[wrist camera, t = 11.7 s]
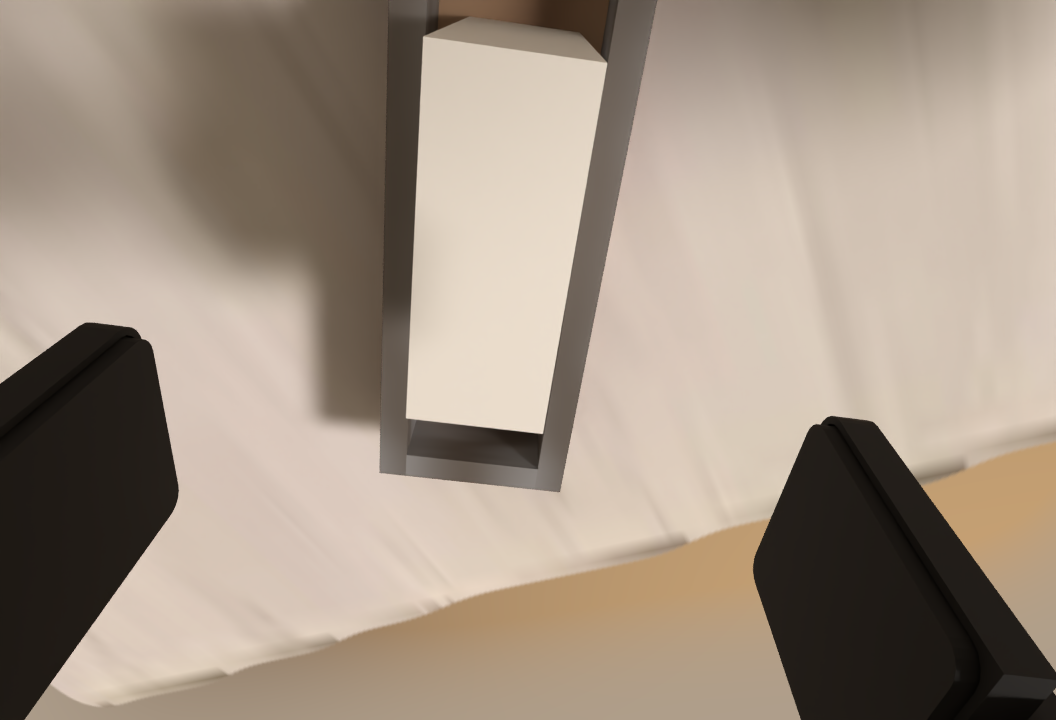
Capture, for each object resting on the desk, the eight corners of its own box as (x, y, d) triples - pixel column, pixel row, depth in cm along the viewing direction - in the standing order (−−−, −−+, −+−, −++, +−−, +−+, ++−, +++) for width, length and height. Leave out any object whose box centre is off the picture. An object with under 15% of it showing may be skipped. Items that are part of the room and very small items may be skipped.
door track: (688, -276, 21) (724, -338, 17) (557, 435, 35) (559, 492, 31) (423, -322, 20) (396, -395, 16) (397, 417, 34) (379, 472, 30)
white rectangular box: (580, 32, 24) (609, 63, 14) (542, 285, 29) (544, 433, 19) (468, 16, 24) (420, 36, 14) (449, 273, 28) (404, 418, 19)
